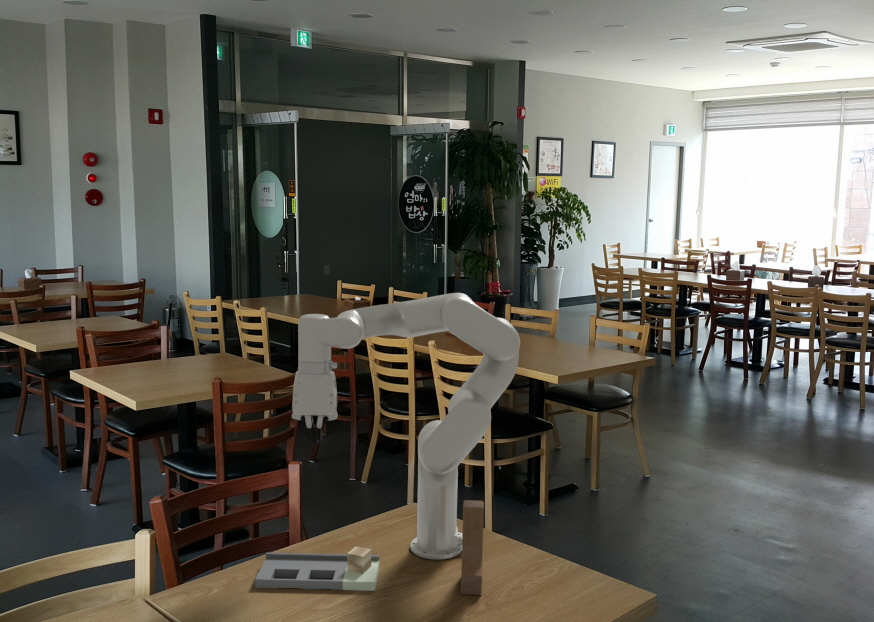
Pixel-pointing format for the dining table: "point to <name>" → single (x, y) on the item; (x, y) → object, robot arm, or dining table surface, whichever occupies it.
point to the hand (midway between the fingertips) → (314, 442)
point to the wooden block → (472, 547)
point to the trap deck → (314, 572)
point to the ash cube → (359, 559)
